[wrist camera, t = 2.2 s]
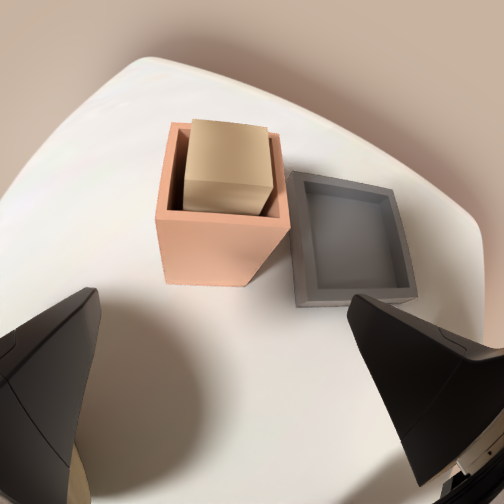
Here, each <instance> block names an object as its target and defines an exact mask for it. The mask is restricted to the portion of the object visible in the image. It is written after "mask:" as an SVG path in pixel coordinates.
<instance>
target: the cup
mask: <svg viewBox="0 0 504 504" xmlns="http://www.w3.org/2000/svg"><path fill="white" fill-rule="evenodd" d="M191 125H192V124H191V123H174V122H171V126H170V131H169V136H168V141H167V146H166V151H165V157H164V162H163V168H162V174H161V180H160V186H159V193H158V200H157V207H156V215H155V223H156V230H157V236H158V242H159V248H160V254H161V260H162V265H163V271H164V276H165V281H166V284H178V285H201V286H230V287H245V286H246V285H247V283H248V282H249V281H250V279H251V278H252V277H253V276H254V274H255V273H256V272H257V271H258V269H259V268H260V267H261V265H262V264H263V263H264V262H265V260H266V259H267V258H268V257H269V255H270V254H271V253H272V251H273V250H274V249H275V248H276V246H277V245H278V244H279V242H280V241H281V240H282V239H283V237H284V236H285V235H286V233H287V232H288V231H289V230H290V228H291V227H290V218H289V209H288V200H287V191H286V183H285V175H284V167H283V160H282V152H281V145H280V138H279V134H277V133H270V132H268V139H269V148H270V158H271V168H272V178H273V189H272V191H271V193H270V195H269V196H268V198H267V200H266V202H265V204H264V206H263V208H262V210H261V212H260V214H259V216H247V215H233V214H220V213H205V212H188V211H183V200H184V180H185V171H186V162H187V154H188V146H189V139H190V132H191Z"/></svg>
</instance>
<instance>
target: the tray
mask: <svg viewBox="0 0 504 504" xmlns="http://www.w3.org/2000/svg"><path fill="white" fill-rule="evenodd" d="M286 191H287V200H288V209H289V218H290V227H291V228H290V230H289V233H290V243H291V254H292V264H293V276H294V288H295V300H296V308H305V307H339V306H350V303H351V300H352V297H353V296H354V295H355V294H366V295H368V296H370V297H373V298H375V299H377V300H379V301H382V302H384V303H386V304H396V303H404V302H406V301H409V300H412V299H414V298H417V297H418V294H417V288H416V283H415V277H414V272H413V267H412V263H411V258H410V253H409V249H408V245H407V240H406V236H405V232H404V229H403V225H402V221H401V217H400V214H399V210H398V207H397V203H396V200H395V197H394V193H393V190H391V189H387V188H382V187H378V186H373V185H368V184H363V183H359V182H353V181H348V180H343V179H338V178H332V177H326V176H321V175H315V174H308V173H302V172H295V171H292V173H291V175H290V176H289V178H288V180H287V182H286Z"/></svg>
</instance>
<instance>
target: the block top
mask: <svg viewBox="0 0 504 504" xmlns="http://www.w3.org/2000/svg"><path fill="white" fill-rule="evenodd" d="M272 189H273V178H272V168H271V158H270V148H269V139H268V129H267V127H260V126H254V125H246V124H238V123H230V122H221V121H211V120H199V119H192V125H191V132H190V139H189V146H188V154H187V162H186V171H185V180H184V200H183V211H188V212H205V213H220V214H233V215H247V216H259V214H260V212H261V210H262V208H263V206H264V204H265V202H266V200H267V198H268V196H269V195H270V193H271V191H272Z"/></svg>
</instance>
